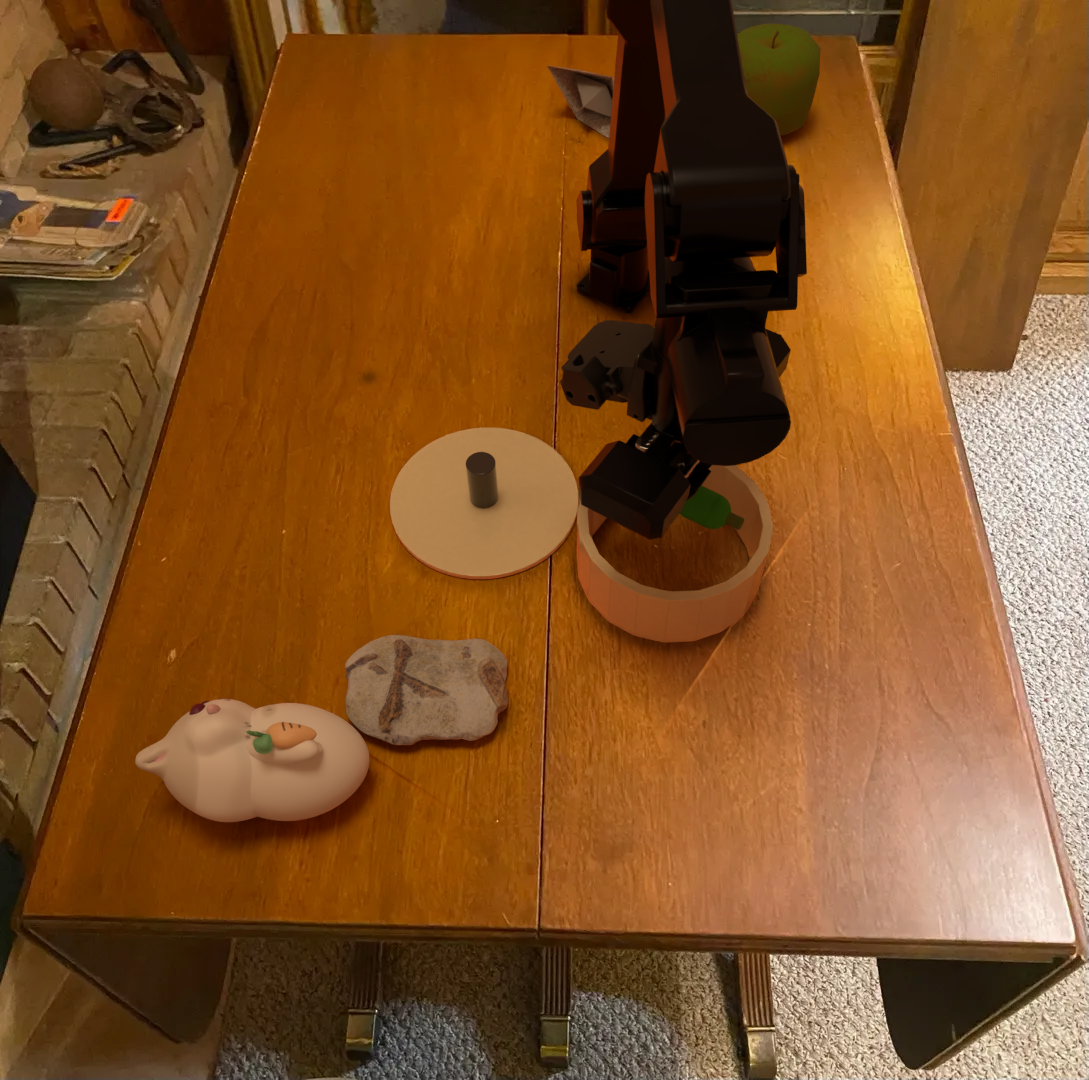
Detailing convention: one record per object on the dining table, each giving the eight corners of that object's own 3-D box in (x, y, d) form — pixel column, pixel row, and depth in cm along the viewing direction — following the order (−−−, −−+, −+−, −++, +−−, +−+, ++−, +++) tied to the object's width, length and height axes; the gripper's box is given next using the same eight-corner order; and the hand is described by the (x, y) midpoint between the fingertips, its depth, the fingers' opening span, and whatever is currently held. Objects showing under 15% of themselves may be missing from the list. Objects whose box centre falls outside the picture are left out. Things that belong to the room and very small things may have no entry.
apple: (786, 89, 122) (803, -3, 113) (824, 140, 116) (845, 46, 107) (698, 105, 121) (709, 13, 112) (732, 157, 114) (746, 64, 106)
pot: (636, 470, 88) (640, 418, 83) (790, 545, 83) (805, 495, 78) (542, 588, 81) (540, 541, 76) (703, 678, 76) (714, 634, 71)
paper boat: (658, 108, 118) (632, 130, 111) (623, 149, 122) (596, 172, 116) (583, 31, 116) (553, 48, 110) (551, 74, 121) (519, 94, 114)
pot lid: (465, 410, 93) (460, 365, 88) (613, 484, 87) (616, 440, 83) (352, 527, 85) (340, 485, 81) (507, 616, 80) (504, 576, 75)
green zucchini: (616, 490, 76) (618, 468, 74) (634, 468, 78) (636, 446, 76) (730, 548, 73) (735, 526, 71) (747, 523, 75) (752, 501, 72)
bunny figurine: (366, 707, 65) (122, 704, 63) (361, 836, 64) (115, 836, 63) (375, 696, 74) (163, 693, 73) (371, 808, 74) (157, 807, 72)
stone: (343, 758, 73) (335, 738, 70) (351, 646, 78) (344, 625, 76) (510, 750, 73) (508, 730, 71) (507, 639, 78) (505, 617, 76)
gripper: (662, 212, 69) (647, 376, 82) (504, 379, 60) (514, 533, 73) (812, 271, 66) (772, 433, 78) (668, 457, 57) (649, 606, 69)
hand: (677, 496), depth 75 cm, fingers closed on green zucchini, 2 cm apart
